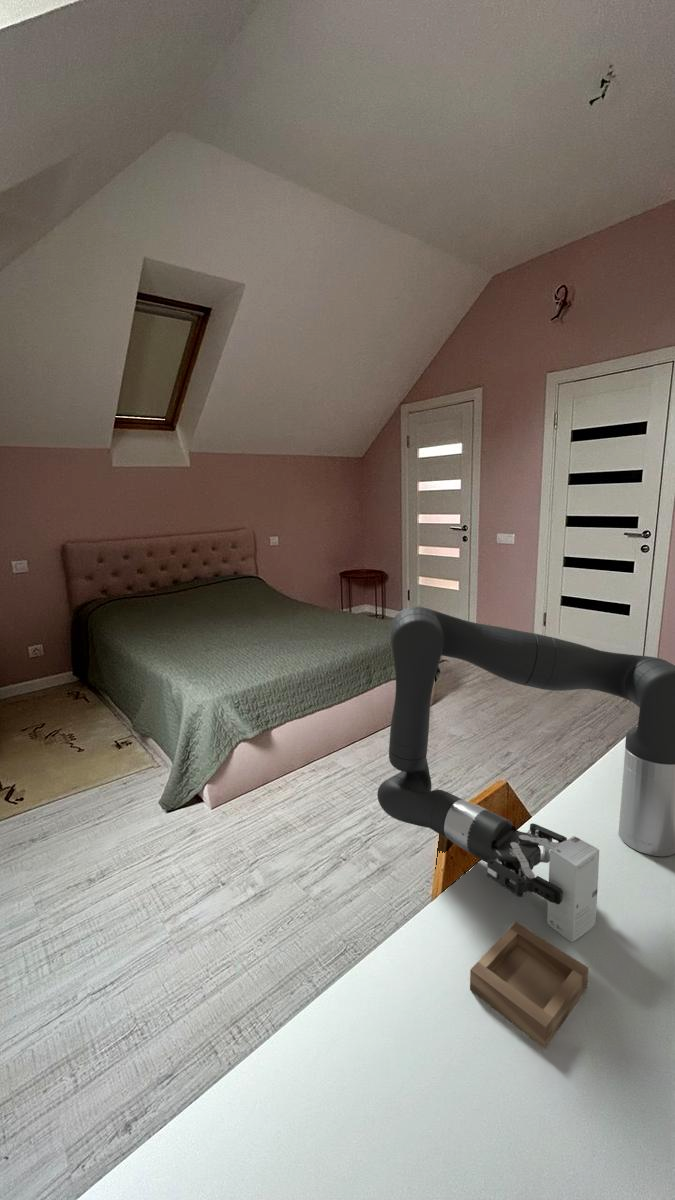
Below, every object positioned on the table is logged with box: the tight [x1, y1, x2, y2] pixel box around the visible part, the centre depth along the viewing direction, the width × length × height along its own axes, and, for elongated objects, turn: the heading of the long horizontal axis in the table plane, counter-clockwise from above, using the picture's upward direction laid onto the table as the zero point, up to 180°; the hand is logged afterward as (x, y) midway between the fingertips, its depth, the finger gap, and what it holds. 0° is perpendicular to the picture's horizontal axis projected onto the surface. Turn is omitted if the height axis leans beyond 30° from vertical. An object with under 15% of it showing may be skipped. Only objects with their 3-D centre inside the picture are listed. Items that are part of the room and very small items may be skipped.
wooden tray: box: [469, 921, 590, 1050], centre depth 65 cm, size 11×10×3 cm
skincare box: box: [546, 835, 600, 942], centre depth 74 cm, size 6×4×12 cm
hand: (575, 882), depth 74 cm, fingers open, 8 cm apart
